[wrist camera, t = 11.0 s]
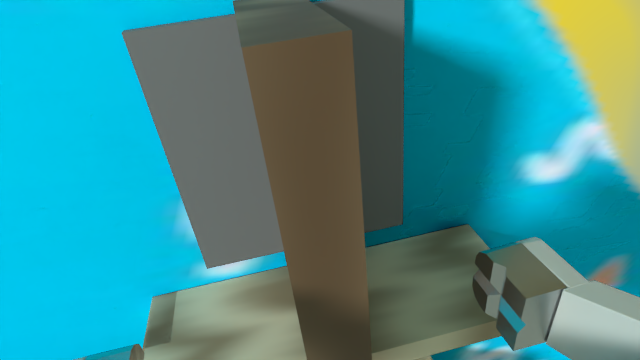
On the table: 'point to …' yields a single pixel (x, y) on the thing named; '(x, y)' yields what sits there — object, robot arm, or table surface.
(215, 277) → the table surface
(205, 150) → the mat
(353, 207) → the walnut board
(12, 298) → the table surface
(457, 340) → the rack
